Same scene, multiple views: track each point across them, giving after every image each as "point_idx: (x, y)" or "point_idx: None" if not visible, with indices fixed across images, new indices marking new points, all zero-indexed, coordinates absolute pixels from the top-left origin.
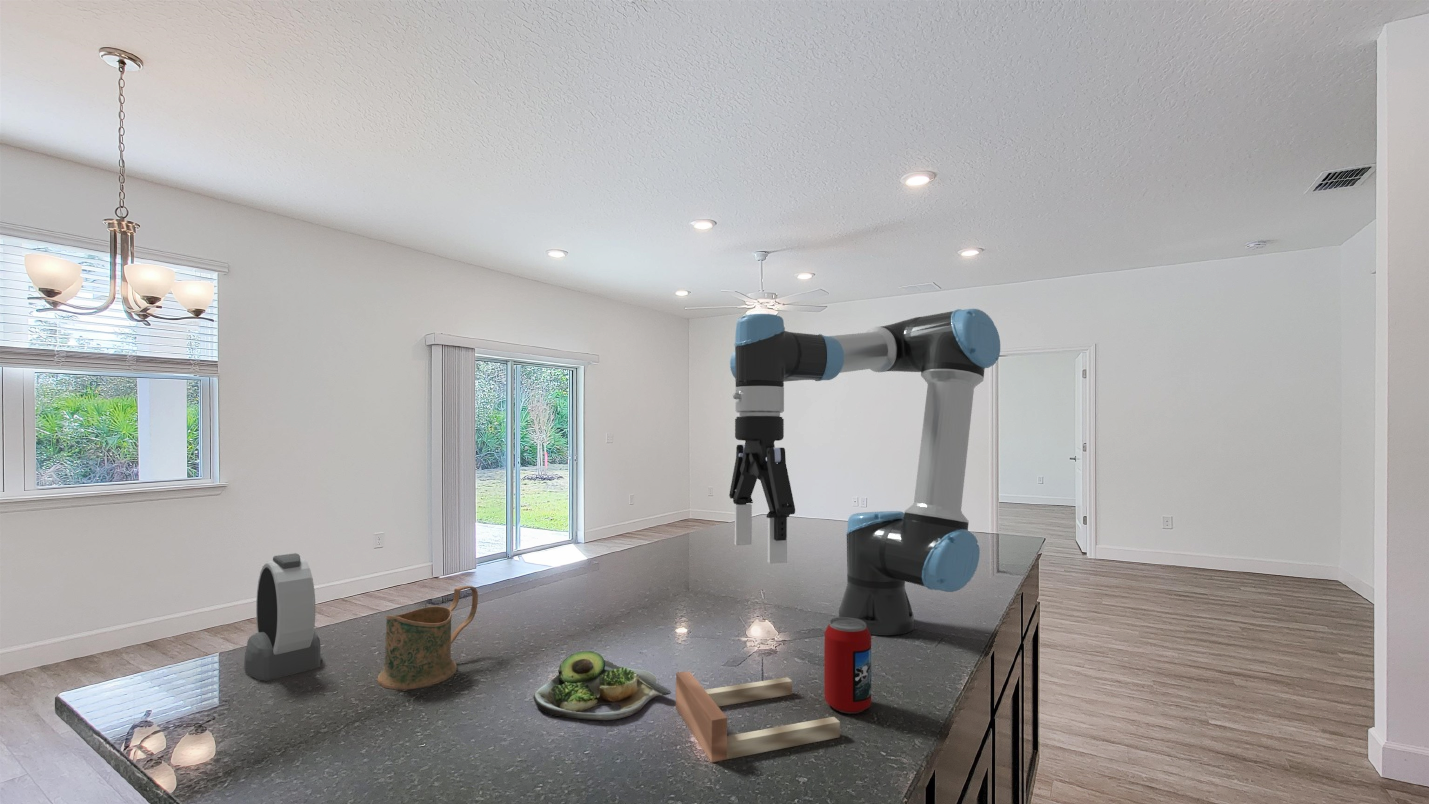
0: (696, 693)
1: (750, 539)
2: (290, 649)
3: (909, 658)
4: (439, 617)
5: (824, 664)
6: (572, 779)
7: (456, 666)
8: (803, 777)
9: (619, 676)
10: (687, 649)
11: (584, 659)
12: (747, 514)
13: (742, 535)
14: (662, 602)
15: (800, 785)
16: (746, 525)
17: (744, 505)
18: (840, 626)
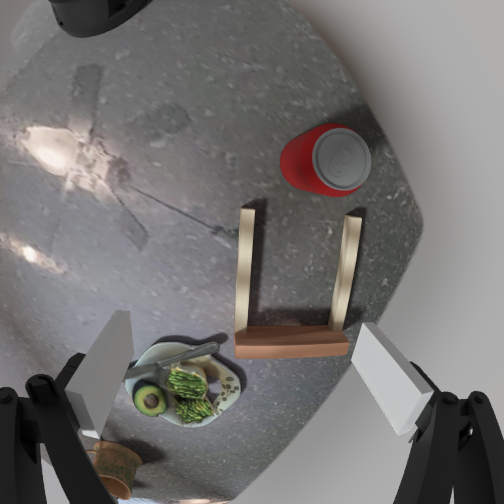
0: (293, 354)
1: (125, 322)
2: (111, 494)
3: (220, 14)
4: None
5: (305, 189)
6: (304, 410)
7: (110, 443)
8: (384, 280)
9: (200, 390)
10: (84, 271)
11: (148, 404)
12: (99, 381)
13: (124, 352)
14: None
15: (389, 286)
16: (112, 359)
17: (90, 415)
18: (347, 177)
